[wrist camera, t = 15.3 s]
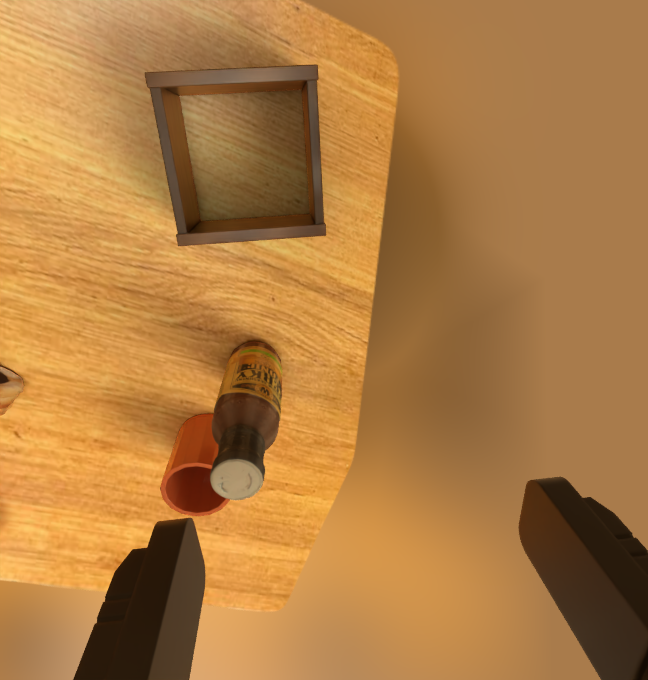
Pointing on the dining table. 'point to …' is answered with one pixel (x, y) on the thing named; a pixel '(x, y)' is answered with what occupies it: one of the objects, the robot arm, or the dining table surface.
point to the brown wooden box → (178, 159)
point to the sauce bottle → (246, 419)
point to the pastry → (9, 388)
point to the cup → (192, 470)
